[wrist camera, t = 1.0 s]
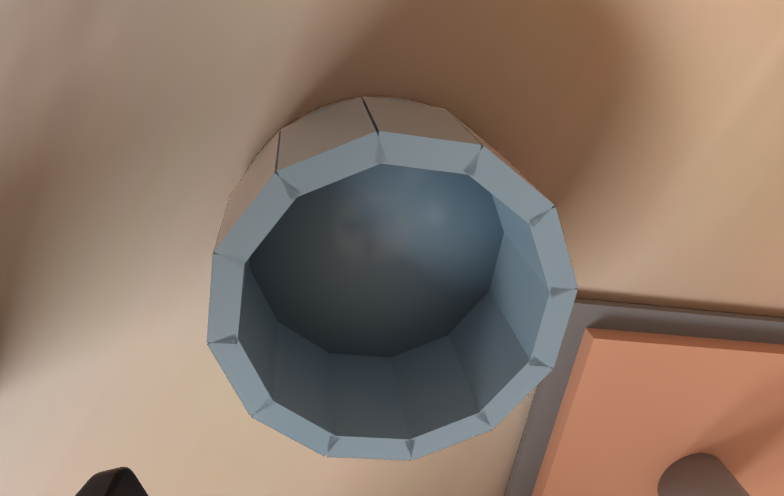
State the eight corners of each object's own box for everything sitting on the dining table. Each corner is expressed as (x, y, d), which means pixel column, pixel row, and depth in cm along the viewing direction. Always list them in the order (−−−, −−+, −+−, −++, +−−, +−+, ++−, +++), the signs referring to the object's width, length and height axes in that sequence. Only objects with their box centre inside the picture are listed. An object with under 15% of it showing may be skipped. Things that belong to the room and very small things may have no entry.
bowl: (481, 370, 26) (523, 465, 21) (219, 352, 24) (199, 451, 19) (546, 119, 22) (616, 163, 17) (240, 74, 20) (222, 109, 15)
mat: (759, 583, 33) (765, 590, 33) (478, 581, 30) (480, 589, 30) (894, 328, 27) (902, 333, 27) (564, 297, 25) (568, 302, 24)
